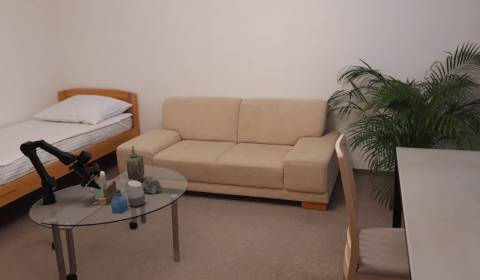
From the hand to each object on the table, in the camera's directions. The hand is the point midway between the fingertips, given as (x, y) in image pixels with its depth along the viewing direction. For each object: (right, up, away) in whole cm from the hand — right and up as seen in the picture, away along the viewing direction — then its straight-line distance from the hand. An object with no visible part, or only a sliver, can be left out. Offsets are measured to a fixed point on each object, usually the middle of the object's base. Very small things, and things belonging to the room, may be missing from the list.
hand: (102, 187), depth 253 cm
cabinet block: (-1, -6, +2) cm, 7 cm away
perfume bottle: (+15, -12, -14) cm, 24 cm away
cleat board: (+1, -8, +2) cm, 9 cm away
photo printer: (-9, -4, +21) cm, 24 cm away
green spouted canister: (+13, 0, +32) cm, 34 cm away
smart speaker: (+22, -9, -7) cm, 25 cm away
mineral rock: (+26, -4, +13) cm, 30 cm away
